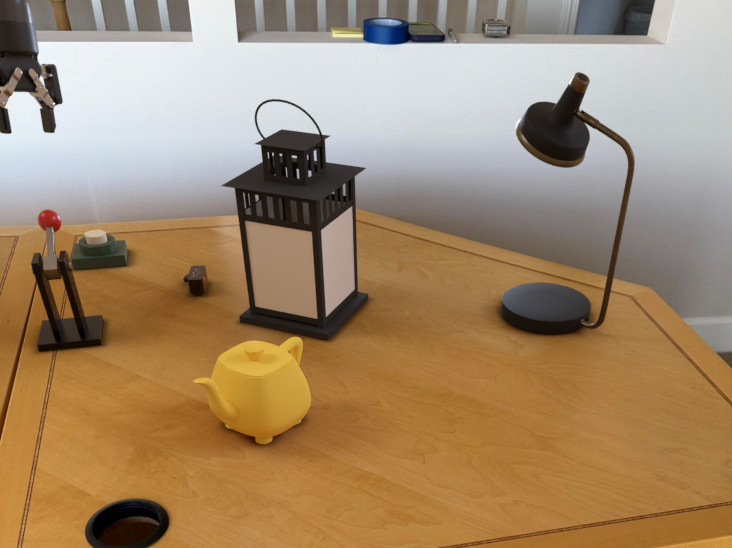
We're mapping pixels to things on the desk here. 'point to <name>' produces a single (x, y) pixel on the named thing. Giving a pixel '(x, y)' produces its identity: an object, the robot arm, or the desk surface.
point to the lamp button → (95, 237)
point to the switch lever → (50, 243)
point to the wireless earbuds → (196, 280)
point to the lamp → (562, 149)
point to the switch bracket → (68, 329)
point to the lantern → (298, 236)
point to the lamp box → (99, 254)
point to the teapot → (259, 388)
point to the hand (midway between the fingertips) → (28, 133)
